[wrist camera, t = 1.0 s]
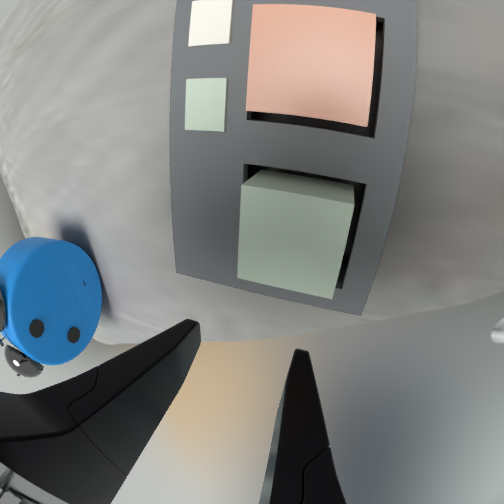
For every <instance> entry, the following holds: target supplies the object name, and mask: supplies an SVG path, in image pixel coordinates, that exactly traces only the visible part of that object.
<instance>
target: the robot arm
mask: <svg viewBox="0 0 504 504" xmlns="http://www.w3.org/2000/svg"><path fill="white" fill-rule="evenodd" d="M200 343H201V334H200V324H199V322H197V321H194V320H190V319H186V320H184V321H182V322H180V323H178V324H176V325H175V326H173V327H171V328H169V329H167V330H165V331H163V332H162V333H160V334H158V335H156V336H154V337H152V338H150V339H148V340H147V341H145V342H143V343H141V344H139V345H137V346H135V347H133V348H132V349H130V350H128V351H126V352H124V353H122V354H120V355H118V356H116V357H115V358H113V359H110V360H108V361H106V362H105V363H103V364H101V365H99V366H97V367H94V368H93V369H91V370H89V371H87V372H84V373H82V374H80V375H78V376H76V377H73V378H71V379H68V380H66V381H64V382H61V383H58V384H55V385H53V386H50V387H47V388H44V389H42V390H39V391H36V392H33V393H29V394H11V393H5V392H0V504H111V502H112V500H113V499H114V497H115V496H116V494H117V492H118V491H119V489H120V487H121V486H122V484H123V482H124V481H125V479H126V478H127V476H128V474H129V472H130V471H131V469H132V468H133V466H134V464H135V463H136V461H137V459H138V457H139V456H140V454H141V453H142V451H143V449H144V448H145V446H146V445H147V443H148V441H149V440H150V438H151V436H152V435H153V433H154V431H155V430H156V428H157V426H158V425H159V423H160V421H161V420H162V418H163V416H164V414H165V413H166V411H167V410H168V408H169V406H170V405H171V403H172V401H173V400H174V398H175V396H176V395H177V393H178V391H179V390H180V388H181V386H182V384H183V383H184V380H185V378H186V376H187V374H188V371H189V369H190V367H191V365H192V362H193V360H194V358H195V355H196V353H197V351H198V349H199V346H200ZM329 445H330V444H329V439H328V435H327V430H326V425H325V420H324V416H323V411H322V407H321V403H320V398H319V393H318V389H317V385H316V380H315V376H314V372H313V367H312V363H311V359H310V355H309V352H308V351H305V350H301V349H295V351H294V354H293V358H292V361H291V364H290V368H289V371H288V374H287V378H286V382H285V386H284V389H283V393H282V397H281V401H280V404H279V408H278V411H277V416H276V421H275V427H274V432H273V437H272V443H271V448H270V454H269V459H268V464H267V469H266V473H265V479H264V483H263V488H262V492H261V497H260V502H259V504H346V501H345V498H344V495H343V492H342V490H341V487H340V484H339V480H338V477H337V474H336V470H335V466H334V462H333V457H332V453H331V448H330V447H329Z"/></svg>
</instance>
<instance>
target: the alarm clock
mask: <svg viewBox="0 0 504 504" xmlns="http://www.w3.org/2000/svg"><path fill="white" fill-rule="evenodd" d="M101 306H102V290H101V283H100V278H99V275H98V272H97V269H96V267H95V265H94V263H93V261H92V260H91V258H90V257H89V255H88V254H87V253H86V252H85V251H84V250H83V249H81V248H80V247H79V246H77V245H75V244H73V243H71V242H67V241H62V240H55V239H48V238H41V237H32V238H27V239H24V240H21V241H19V242H17V243H15V244H14V245H13V246H11V247H10V248H9V249H8V250H7V251H6V252H5V253H4V255H3V256H2V257H1V259H0V332H1V333H2V334H3V336H4V338H6V339H7V340H8V341H9V342H10V343H12V344H13V345H14V346H15V347H17V348H18V349H19V350H21V351H22V352H23V353H22V352H21V351H19V350H17V349H15V348H13V347H11V346H9V345H6V347H5V358H6V361H7V363H8V364H9V366H10V367H11V368H12V369H13V370H14V371H15V372H17V373H18V374H17V376H20V375H22V376H24V377H37V376H38V375H40V374H41V373H42V371H43V368H44V366H43V365H41V364H40V363H42V364H46V365H59V364H63V363H66V362H68V361H70V360H72V359H73V358H75V357H76V356H78V355H79V354H80V353H81V352H82V351H83V350H84V349H85V347H86V346H87V345H88V343H89V342H90V340H91V339H92V337H93V335H94V333H95V330H96V328H97V325H98V322H99V318H100V313H101ZM4 338H3V339H4ZM3 339H2V340H3ZM2 340H1V339H0V345H1V346H3V345H4V344H3V343H2Z"/></svg>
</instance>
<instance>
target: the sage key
mask: <svg viewBox="0 0 504 504" xmlns="http://www.w3.org/2000/svg"><path fill="white" fill-rule="evenodd" d="M353 210H354V189H353V185H349V184H344V183H339V182H333V181H328V180H323V179H317V178H312V177H306V176H300V175H294V174H287V173H281V172H274V171H267V170H260V171H259V172H258V173H256V174H255V175H254V176H252V177H251V178H250V179H248V180H247V181H246V182H244V183H243V184H242V185H241V203H240V224H239V246H238V269H237V278H239V279H244V280H248V281H252V282H256V283H261V284H265V285H269V286H274V287H278V288H283V289H287V290H292V291H296V292H301V293H305V294H310V295H314V296H319V297H324V298H328V299H332V298H333V294H334V290H335V287H336V283H337V279H338V275H339V271H340V267H341V263H342V259H343V255H344V251H345V246H346V242H347V238H348V233H349V229H350V224H351V219H352V214H353Z"/></svg>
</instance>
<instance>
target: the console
mask: <svg viewBox="0 0 504 504" xmlns="http://www.w3.org/2000/svg"><path fill="white" fill-rule="evenodd" d="M253 4H296V5H313V6H325V7H334V8H342V9H349V10H356V11H362V12H368V13H373V14H376V21H379V22H383V40H382V58H381V72H380V84H379V94H378V103H377V112H376V120H375V127H374V135H373V137H369V136H364V135H360V134H354V133H349V132H344V131H338V130H332V129H326V128H320V127H314V126H307V125H299V124H291V123H283V122H274V121H263V120H252V119H251V112H252V111H246V96H247V80H248V65H249V51H250V37H251V23H252V10H253ZM417 32H418V13H417V0H177V4H176V14H175V24H174V36H173V50H172V66H171V89H170V182H171V206H172V224H173V240H174V253H175V265H176V273H180V274H183V275H187V276H191V277H195V278H199V279H202V280H206V281H210V282H214V283H218V284H222V285H226V286H230V287H234V288H238V289H242V290H246V291H251V292H255V293H259V294H263V295H267V296H272V297H276V298H280V299H285V300H289V301H294V302H298V303H302V304H307V305H312V306H316V307H321V308H325V309H330V310H335V311H340V312H344V313H349V314H354V315H359V316H361V314H362V312H363V309H364V306H365V303H366V300H367V298H368V295H369V292H370V289H371V286H372V283H373V280H374V277H375V274H376V270H377V267H378V264H379V261H380V257H381V254H382V251H383V247H384V244H385V240H386V237H387V233H388V229H389V225H390V222H391V218H392V214H393V210H394V206H395V201H396V197H397V193H398V188H399V183H400V179H401V174H402V169H403V164H404V158H405V153H406V147H407V141H408V135H409V128H410V121H411V114H412V106H413V97H414V87H415V75H416V60H417ZM248 164H252V165H260V166H267V167H274V168H281V169H288V170H294V171H300V172H306V173H312V174H318V175H324V176H329V177H334V178H340V179H345V180H350V181H355V182H359V183H364V184H365V188H364V194H363V199H362V204H361V208H360V213H359V218H358V222H357V227H356V231H355V236H354V240H353V244H352V248H351V252H350V256H349V260H348V264H347V265H346V264H341V267H340V271H339V275H338V279H337V283H336V287H335V290H334V294H333V298H332V299H328V298H324V297H319V296H314V295H310V294H305V293H301V292H296V291H292V290H287V289H283V288H278V287H274V286H269V285H265V284H261V283H256V282H252V281H248V280H244V279H239V278H237V269H238V246H239V224H240V203H241V185H242V184H243V183H244V182H246V181H247V177H248Z"/></svg>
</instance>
